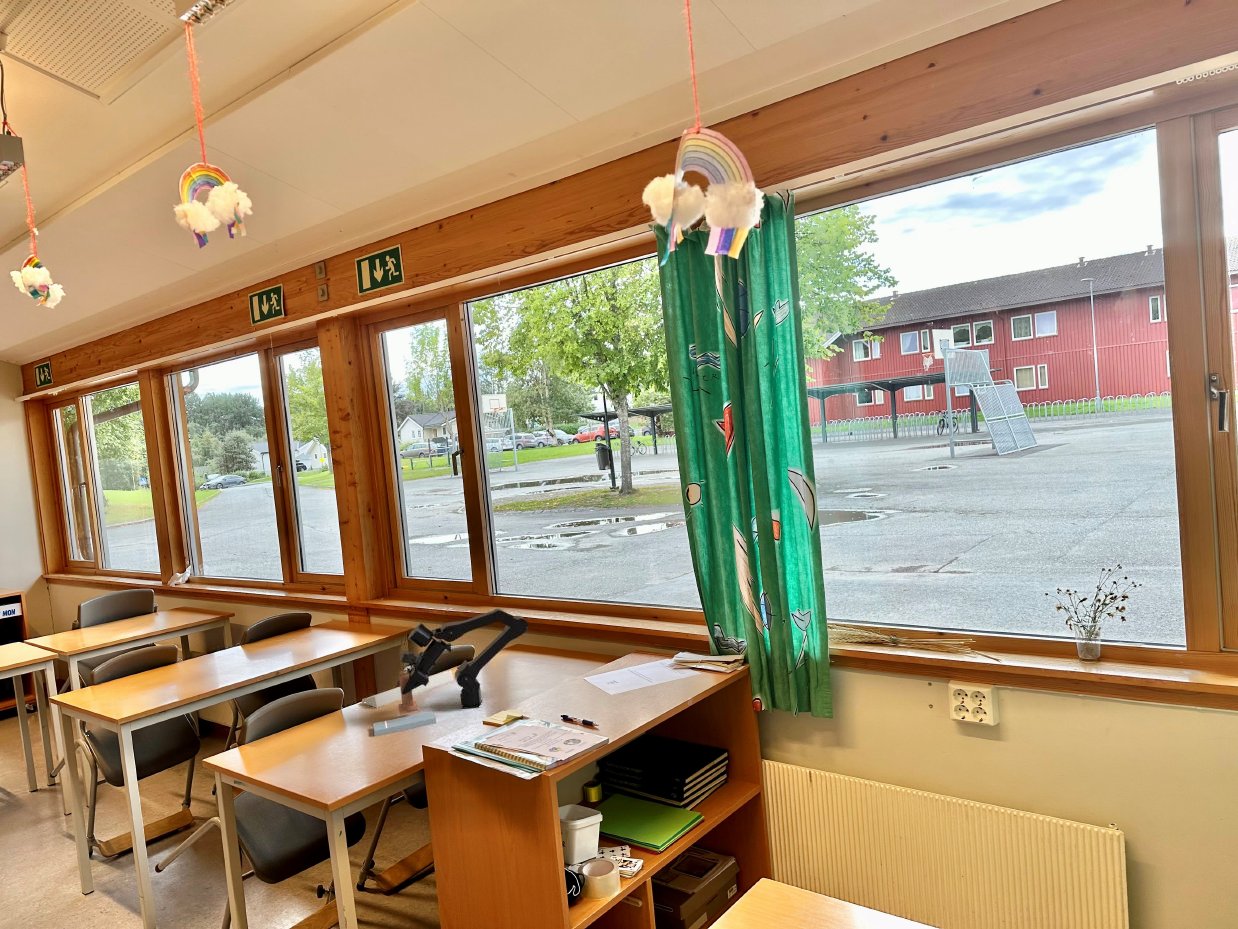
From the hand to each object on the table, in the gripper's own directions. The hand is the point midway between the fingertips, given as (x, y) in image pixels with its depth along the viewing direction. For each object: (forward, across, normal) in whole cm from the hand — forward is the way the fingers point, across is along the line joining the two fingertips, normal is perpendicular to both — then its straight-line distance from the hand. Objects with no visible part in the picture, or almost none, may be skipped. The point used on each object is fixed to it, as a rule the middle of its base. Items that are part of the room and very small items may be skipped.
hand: (402, 692), depth 267 cm
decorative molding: (+4, -32, +10) cm, 34 cm away
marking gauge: (+4, 0, +6) cm, 7 cm away
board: (+7, +7, +6) cm, 12 cm away
